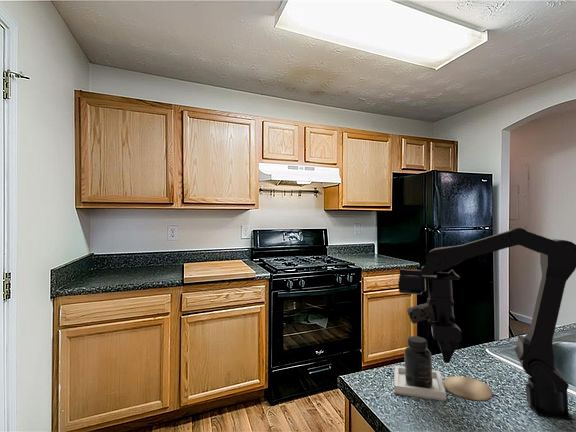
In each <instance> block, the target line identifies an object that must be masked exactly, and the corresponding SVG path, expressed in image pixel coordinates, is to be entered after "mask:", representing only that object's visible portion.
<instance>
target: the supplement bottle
mask: <svg viewBox="0 0 576 432" xmlns="http://www.w3.org/2000/svg"><path fill="white" fill-rule="evenodd" d="M403 353H404V354H403V355H404V367H405V380H406V383H407V384H408V385H409V386H414V387H421V388H428V389H430V388H431V387H432V385H433V378H432V370H433V360H432V359H433V358H432V357H433V356H432V352H431V351H430V349H428V341H427V339H426V338H424V337H421V336H418V335H417V336H408V337H407V347H405V349H404V351H403Z"/></svg>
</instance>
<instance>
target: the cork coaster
mask: <svg viewBox="0 0 576 432" xmlns="http://www.w3.org/2000/svg"><path fill="white" fill-rule="evenodd" d="M443 385H444V388H445V390H447V392H449V393H450V394H452V395H454V396H457V397H459V398H462V399H466V400H468V401H469V400H470V401H487V400H489V399H491V398H492V396H493V389H492V388H491V387H490V386H489V385H488V384H486V383H485V382H482V381H480V380H477V379H475V378H471V377H467V376H456V375H455V376H448V377H446V378H445V379H444V380H443Z"/></svg>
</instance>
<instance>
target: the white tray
mask: <svg viewBox="0 0 576 432" xmlns="http://www.w3.org/2000/svg"><path fill="white" fill-rule="evenodd" d="M432 378H433V385H432V387H431V388H430V389H428V388H421V387H414V386H409V385H408V384H407V383H406V380H405V366H401V365H400V366H399V365H394V378H393V380H394V381H393V386H394V387H393V389H394V390H393V391H394V393H393V394H396V395H400V396H401V395H402V396H408V397H409V396H410V397H416V398H423V399H428V400H435V401H443V402H447V392H446V388H445V387H444V380H443V378H442V375H441V371H440V370H435V369H432Z"/></svg>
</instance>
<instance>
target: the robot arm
mask: <svg viewBox="0 0 576 432" xmlns="http://www.w3.org/2000/svg"><path fill="white" fill-rule="evenodd" d="M515 246H521V247H523V248H525V249H529V250H531V251H534V252H536V253H538V254H539V255H540V256H539V263H540V264H539V265H540V269H541V270H540V271H541V278H540V279H541V280H540V283H539V288H538V291H537V296H536V301H535V305H534V309H533V314H532V319H531V324H530V327H529V331H528V333H527V334H526V335H525V337H524V336H521V335H520V334H519V335H517V344H516V346H515V347H514V349H513V350H514V352H515V354H516V356H517V360H518V361H519V363H520V365H521V368H522V369H523V371H524V372H525V373H526V374H527V375H528V376H529V377H527V383H526V384H525V394H526V395H525V396H526V398H525V399H526V402H527V403H528V405H529V406H530V407H531V408H532V410H533V411H534V412H535V414H536V415H539V416H545V417H550V418H559V419H563V420H570V421H571V420H574V418H573V416H572V414H571V413H569V401H568V399H569V398H568V397H569V396H568V389H569V387H570V386H569V383H568V382H567V380H566V379H565V378H564V376H563V375H562V374H561V372H560V371H559V370H558V368H557V367H555V352H554V345H553V339H554V335H555V331H556V326H557V322H558V319H559V318H558V317H559V314H560V310H561V305H562V301H563V296H564V293H565V287H566V283H567V281H568V280H569V279H570V277H571V276H572V274H573V273H574V272H575V271H576V243H574V242H572V241H569V240H565V239H558V238H557V239H556V238H555V239H554V238H553V239H551V238H548V237H546V236H543V235H539V234H536V233H533V232H530V231H527V230H526V229H524V228H520V227H515V228H514V227H513V228H510V229H509V230H507V231H504V232H499V233H496V234H492V235H490V236H487V237H483V238H481V239H476V240H474V241H471V242H466V243H463V244H460V245H451V246H442V247H435V248H433V249H431V250H430V251H429V252H428V253H427V255H426V257H425V261H426V262H425V264H424V265H422V266H421V267H420V269H408V268H407V269H406V268H400V269H399V275H398V276H399V277H398V283H397V286H398V292H399V294H404V295H405V294H408V295H422V294H423V293H424V292H426V291H427V288H428V298H427V299H426V302H425V303H422V304H418V305H415V306H410V307H408V308H407V309H406V312H407V315H408V316H409V319H410V321H411V324H418V323H419V322H422V321H426V320H427V323H428V324H429V325H430V326H431V334H432V335H431V336H432V339H434V340H435V341H437V344H438V348H439V349H440V351H441V354H442V355H441V356H442V359H443V363H446V364H449V363H450V361H451V360H452V357H453V356H454V353H455V351H456V349H457V347H458V345H459V343H460V342H461V341H462V340H463V335H462V330H461V328H460V327H459V326H458V325H457V324H456V317H455V313H454V307H455V301H454V297H453V295H454V294H453V283H452V282H453V281H459V280H460V279H461V277H460V275H459V274H457V273H456V272H455V271H454V269H450V268H452V267H453V268H454V266H456V265H458V264H460V263H462V262H464V261H467V260H469V259H473V258H475V257H480V256H483V255H485V254H486V255H487V254H490V253H494V252H497V251H500V250H505V249H507V248H511V247H515ZM449 269H450V270H449ZM446 270H449V271H448V272H444V271H446ZM434 272H436V274H435V275H433V274H432V273H434ZM431 274H432V275H431ZM426 280H427V281H426ZM427 286H428V287H427Z"/></svg>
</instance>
